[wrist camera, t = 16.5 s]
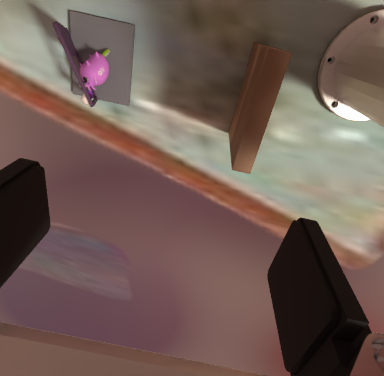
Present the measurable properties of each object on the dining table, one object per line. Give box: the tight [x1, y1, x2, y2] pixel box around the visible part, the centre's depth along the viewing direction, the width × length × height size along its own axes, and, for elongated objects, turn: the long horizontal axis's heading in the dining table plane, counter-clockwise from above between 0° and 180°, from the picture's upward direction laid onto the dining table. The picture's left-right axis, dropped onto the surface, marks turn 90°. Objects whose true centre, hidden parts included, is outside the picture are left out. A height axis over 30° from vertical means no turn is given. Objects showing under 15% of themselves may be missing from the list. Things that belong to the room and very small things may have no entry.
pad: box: [70, 11, 135, 106], centre depth 35 cm, size 8×10×1 cm
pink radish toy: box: [53, 22, 110, 107], centre depth 33 cm, size 7×5×9 cm
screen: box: [229, 43, 292, 174], centre depth 31 cm, size 2×12×12 cm, turn 169°
